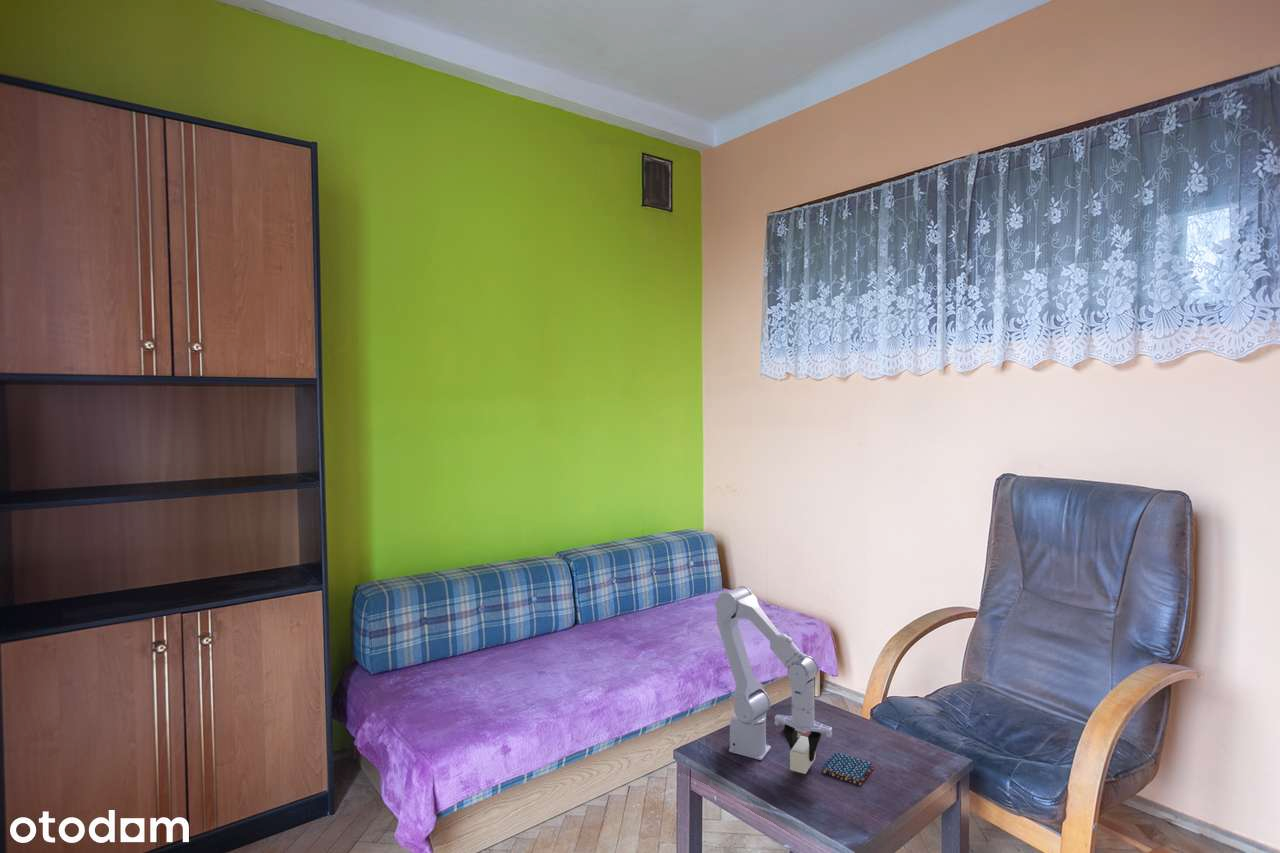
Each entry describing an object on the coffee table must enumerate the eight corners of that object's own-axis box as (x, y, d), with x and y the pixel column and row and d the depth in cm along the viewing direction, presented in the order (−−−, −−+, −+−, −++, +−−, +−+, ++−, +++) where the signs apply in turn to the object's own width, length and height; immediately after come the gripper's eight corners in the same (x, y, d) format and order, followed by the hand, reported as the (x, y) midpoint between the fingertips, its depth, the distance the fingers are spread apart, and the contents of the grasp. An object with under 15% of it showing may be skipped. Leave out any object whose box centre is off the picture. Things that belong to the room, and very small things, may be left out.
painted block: (790, 769, 170) (789, 750, 169) (800, 753, 177) (800, 735, 177) (805, 774, 167) (805, 754, 167) (815, 757, 175) (815, 738, 175)
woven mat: (861, 788, 165) (861, 780, 165) (820, 774, 172) (820, 766, 171) (875, 770, 173) (875, 762, 173) (835, 757, 180) (835, 750, 180)
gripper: (770, 705, 172) (770, 757, 173) (826, 718, 165) (826, 772, 165) (779, 695, 178) (779, 745, 179) (834, 707, 171) (834, 759, 171)
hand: (802, 757), depth 172 cm, fingers closed on painted block, 4 cm apart
